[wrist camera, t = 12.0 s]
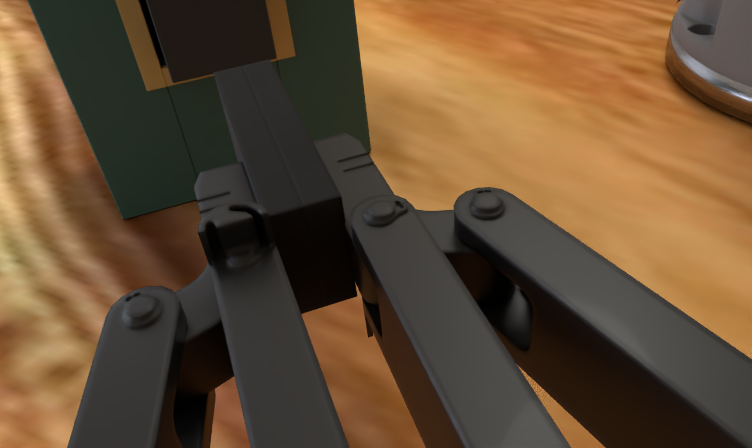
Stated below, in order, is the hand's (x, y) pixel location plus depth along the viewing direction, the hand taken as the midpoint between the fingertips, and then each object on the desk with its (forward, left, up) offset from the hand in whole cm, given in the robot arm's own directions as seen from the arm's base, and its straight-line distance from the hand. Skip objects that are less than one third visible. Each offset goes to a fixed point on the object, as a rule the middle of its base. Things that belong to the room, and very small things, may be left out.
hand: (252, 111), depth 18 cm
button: (+9, -4, -2) cm, 10 cm away
